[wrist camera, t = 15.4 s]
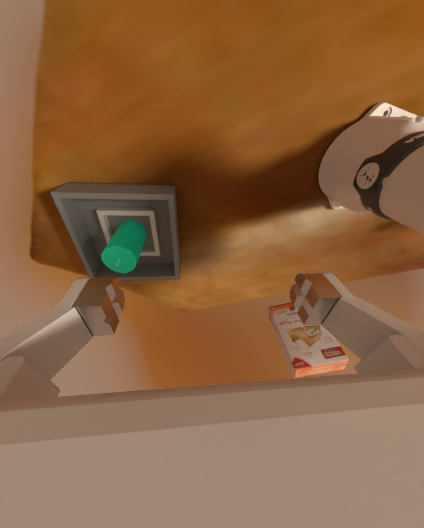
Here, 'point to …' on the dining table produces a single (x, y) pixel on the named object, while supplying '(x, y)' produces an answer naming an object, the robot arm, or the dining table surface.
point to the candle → (125, 247)
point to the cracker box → (305, 343)
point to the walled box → (112, 215)
